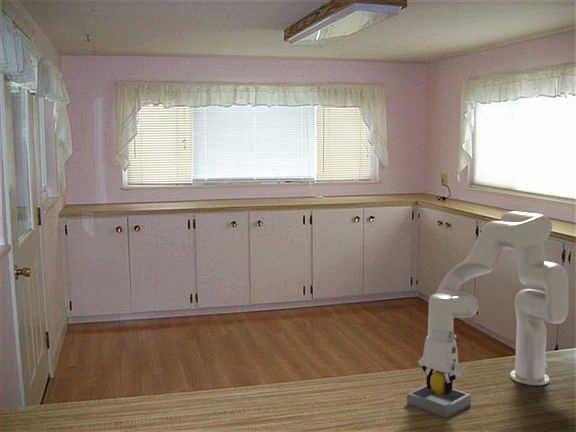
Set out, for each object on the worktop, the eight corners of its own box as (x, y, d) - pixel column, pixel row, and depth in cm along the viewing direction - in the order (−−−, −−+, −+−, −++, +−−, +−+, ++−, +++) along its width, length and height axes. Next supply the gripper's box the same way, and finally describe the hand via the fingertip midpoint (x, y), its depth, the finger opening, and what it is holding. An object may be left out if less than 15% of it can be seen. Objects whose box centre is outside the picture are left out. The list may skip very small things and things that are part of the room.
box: (432, 391, 192) (432, 381, 191) (470, 405, 181) (470, 394, 181) (406, 404, 182) (407, 393, 182) (445, 419, 172) (446, 407, 172)
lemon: (448, 398, 178) (449, 373, 177) (430, 397, 179) (430, 372, 179) (447, 391, 184) (448, 367, 183) (429, 390, 185) (430, 366, 184)
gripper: (472, 338, 176) (470, 395, 178) (423, 325, 188) (422, 379, 190) (458, 343, 171) (457, 402, 173) (410, 330, 183) (409, 385, 185)
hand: (439, 389), depth 181 cm, fingers closed on lemon, 5 cm apart
